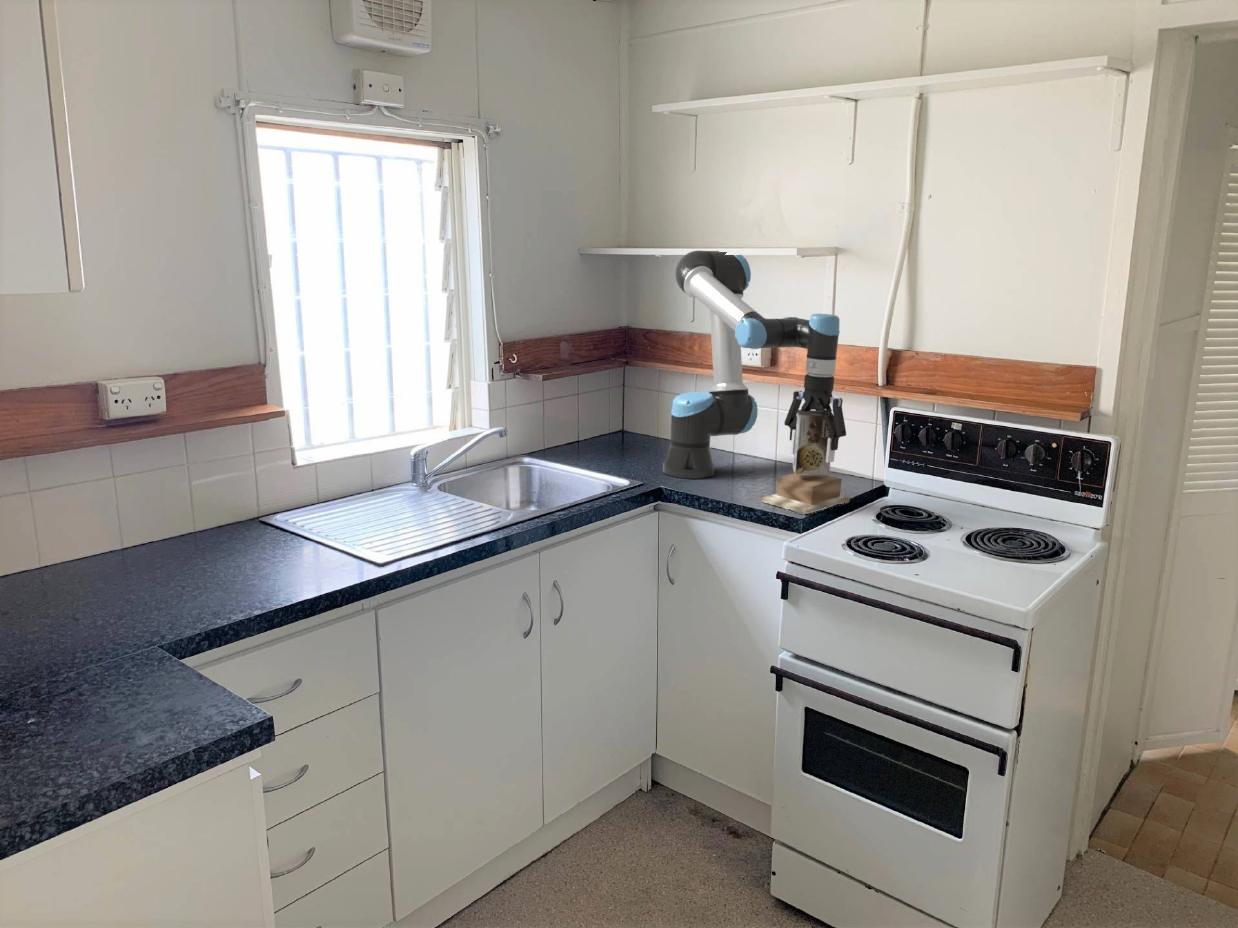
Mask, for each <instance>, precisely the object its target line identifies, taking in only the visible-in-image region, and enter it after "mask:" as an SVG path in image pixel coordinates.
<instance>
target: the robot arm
mask: <svg viewBox="0 0 1238 928" xmlns="http://www.w3.org/2000/svg"><path fill="white" fill-rule="evenodd" d="M719 251H720V250H693V251H690V252H688V253H686V254H684V255H683V256H682V257H681V258H680V260H679V261H678V262H677V264H676V268H675V274H674V275H675V281H676V283H677V286H678V287H679V288H680V290H682V292H684V294H685V295H686V296H688V297H690V298H693V299H697V300H698V301H699V302H700V303H701V304H703V305H704V306H705V307H706V308H707V309H709V319H710V322H709V323H710V334H711V335H710V336H711V339H710V340H711V354H712V355H711V357H712V358H711V359H712V372H713V373H712V375H713V385H712V387H711V388H710V389H708V390H709V391H708V392H706V391H691V392H690V391H689V392H684V393H680V394H678V395H676V396H675V398H673V400H672V405H671V406H672V407H671V410H670V411H671V412H670V413H671V420H670V423H671V424H670V437H669V438H670V442H669V448H668V449H667V452H666V456H665V458H664V461H663V463H662V472H663V473H664V474H666V475H668V476H671V477H675V478H680V479H681V478H682V479H693V480H694V479H705V478H710V477H713V476H714V474H715V464H714V463H713V459H712V457H713V456H712V454H711V453H712V452H711V448H710V446H711V437H717V436H719V437H720V436H736V435H739V434H744V433H748V432H749V431H750V430H751V429H752V428H753V427H754V425H755V424H756V422H757V418H758V414H759V413H758V410H759V409H758V404H757V401H755V398H754V396H752V395H750V394H749V387H747V386H746V385H745V384H744V380H743V364H742V363H743V361H742V348H743V349H751V350H757V349H771V348H772V349H773V348H774V349H776V348H777V349H778V348H799V349H804V350H807V351H806V352H807V353H806V361H805V362H806V363H805V370H804V371H805V373H806V374H805V375H804V381H803V388H804V390H803V391H802V390H796V391H793V397H792V402H791V404H790V407H789V410H788V412H787V415H786V417H785V419H784V423H783V424H784V426H787V427H788V428H789V430H790V431H789V441H791V442H790V443H791V444H790V454H791V455H794V446H795V434H796V423H797V411H798V410H800V411H809V410H814V411H820V413H821V414H822V415H823V416H824V420H825V423H826V425H827V428H828V431H829V433H830V436H831V437H829V438H828V442H827V452H826V462H827V463H829V462H830V463H832V462H835V453H836V451H837V450H838V448H839V442H840V441H839V440H840V438H842V437H846V436H847V430H846V425H845V424H846V423H845V418H844V413H843V401H844V400H843V398H842V397H839V398H836V397H834V396H833V390H834V388H835V387H834V386H835V385H834V383H835V377H834V374H836V366H837V365H836V364H837V353H838V346H839V337H840V336H839V335H840V317H839V316H838V315H835V314H829V313H828V314H827V313H812V314H811V315H810V317H809V319H804V318H799V317H796V316H786V317H783V318H766V317H764V316H762V315H761V314H760V313H758V311H756V310H755V309H754V308H752V307H751V306H750V305H749V304H748V303H746V301H744V300H743V299H742V298H743V297H744V291H746V290H747V289H748V287H749V286H750V282H751V278H752V276H751V275H752V273H751V267H750V264H749V262H748V260H747V259H746V257H744V255H743V254H741V255H725V254H726V253H727V252H719ZM742 255H743V256H742ZM803 400H804V403H802V401H803ZM801 404H802V405H801ZM831 406H832V408H831ZM800 407H801V409H800ZM831 412H832V413H833V415H834V422H833V420H832V419H831V418H830V417H829V416H831V415H832V413H831Z"/></svg>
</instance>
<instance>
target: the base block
mask: <svg viewBox="0 0 1238 928" xmlns="http://www.w3.org/2000/svg"><path fill="white" fill-rule="evenodd" d="M777 478H778V479H777V480H778V481H777V490H776V493H777V495H778V496H782V497H785V498H789V499H792V500H796V501H799V502H803V503H806V504H810V505H812V504H816V503H819V502H823V501H826V500H830V499H833V498H837V497H840V495H841V487H842V478H840V477H836V476H832V475H830V474H829V475H815V474H795V472H793V473H790V474H786V475H782V476H778V477H777Z"/></svg>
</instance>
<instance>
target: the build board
mask: <svg viewBox="0 0 1238 928" xmlns="http://www.w3.org/2000/svg"><path fill="white" fill-rule="evenodd" d="M850 498H851V497H850V496H846V495H843V494H840V497H837V498H833V499H830V500H826V501H823V502H819V503H816V504H812V505H810V504H806V503H803V502H799V501H796V500H792V499H789V498H785V497H782V496H778V495H777V492H776V493H773V494H769V495H765V496H761V502H764V503H769V504H771V505H776V506H778V507H783V508H785V509H791V510H794V511H799V512H804V513H806V512H811V511H815V510H818V509H822V508H824V507H829V506H831V505H835V504H842V505H845V504H849V503H850ZM764 503H763V504H764ZM844 503H845V504H844ZM771 505H770V506H771ZM778 507H777V508H778Z"/></svg>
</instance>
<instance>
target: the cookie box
mask: <svg viewBox="0 0 1238 928" xmlns="http://www.w3.org/2000/svg"><path fill="white" fill-rule="evenodd" d="M800 410H801V409H799V410H798V411H797V415H796V416H797V423H796V434H795V446H794V454H793V459H792V460H793V461H792V470H793V473H795V474H815V475H829V476H830V471H831V470H830V468H831V467H830V466H831V462H829V463H827V462H826V452H827V442H828V438H829V437H831V436H830V433H829V431H828V428H827V425H826V423H825V420H824V416H823V415H822V414H821V413H820V411H816V410H809V411H800ZM831 413H832V415H831V416H829V417H830V418H831V419H832V420H833V422H834V415H833V411H832V412H831Z"/></svg>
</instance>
